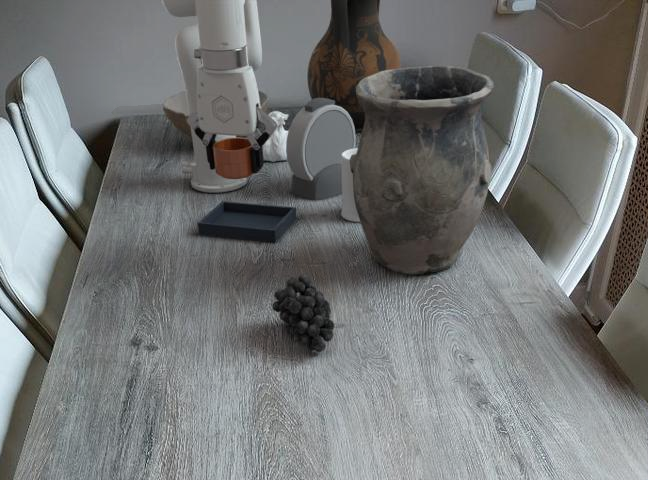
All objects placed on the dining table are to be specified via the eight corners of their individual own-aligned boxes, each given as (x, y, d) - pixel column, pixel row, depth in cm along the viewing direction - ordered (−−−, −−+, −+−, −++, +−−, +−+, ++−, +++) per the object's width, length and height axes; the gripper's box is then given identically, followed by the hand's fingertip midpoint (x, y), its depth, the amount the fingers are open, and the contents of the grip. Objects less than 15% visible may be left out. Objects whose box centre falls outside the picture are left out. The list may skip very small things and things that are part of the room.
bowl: (291, 133, 207) (288, 92, 201) (228, 163, 191) (223, 118, 184) (213, 120, 219) (208, 81, 212) (147, 147, 202) (140, 105, 195)
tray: (198, 234, 157) (197, 223, 155) (223, 212, 166) (222, 200, 164) (275, 242, 153) (274, 230, 151) (296, 219, 162) (295, 207, 160)
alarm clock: (333, 174, 182) (330, 87, 170) (365, 184, 176) (364, 95, 165) (280, 193, 174) (273, 103, 162) (312, 204, 168) (308, 112, 156)
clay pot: (329, 256, 147) (323, 79, 128) (422, 224, 157) (430, 56, 138) (408, 298, 133) (415, 107, 114) (505, 261, 143) (526, 79, 124)
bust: (304, 164, 194) (298, 118, 194) (306, 152, 187) (300, 104, 186) (255, 169, 193) (249, 122, 193) (256, 157, 186) (249, 108, 185)
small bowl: (209, 178, 140) (205, 149, 136) (226, 164, 145) (222, 136, 142) (247, 182, 138) (245, 152, 134) (263, 167, 143) (260, 139, 140)
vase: (403, 136, 203) (407, -26, 180) (307, 138, 203) (300, -22, 181) (398, 109, 221) (401, -40, 199) (310, 112, 222) (304, -36, 200)
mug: (396, 204, 166) (397, 145, 158) (401, 220, 160) (403, 158, 152) (339, 207, 166) (338, 148, 158) (343, 223, 159) (341, 162, 152)
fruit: (333, 304, 113) (308, 259, 124) (280, 329, 113) (260, 282, 124) (352, 351, 118) (327, 304, 129) (301, 375, 119) (281, 326, 130)
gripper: (166, 61, 129) (182, 172, 140) (266, 66, 124) (274, 180, 136) (186, 51, 134) (200, 158, 146) (282, 55, 130) (289, 165, 141)
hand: (236, 168), depth 141 cm, fingers closed on small bowl, 7 cm apart
